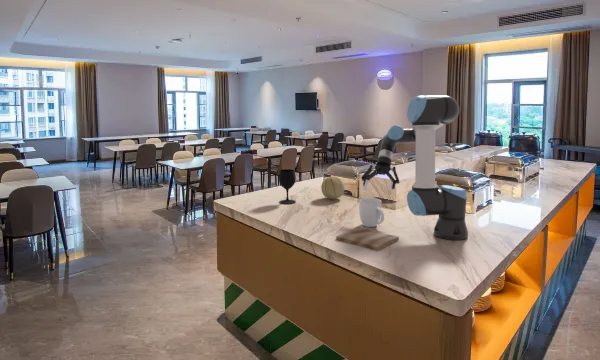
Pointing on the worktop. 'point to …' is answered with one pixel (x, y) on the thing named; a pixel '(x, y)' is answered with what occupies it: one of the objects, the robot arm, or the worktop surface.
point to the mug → (371, 211)
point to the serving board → (367, 238)
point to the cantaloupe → (332, 187)
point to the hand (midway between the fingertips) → (377, 192)
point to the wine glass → (287, 183)
